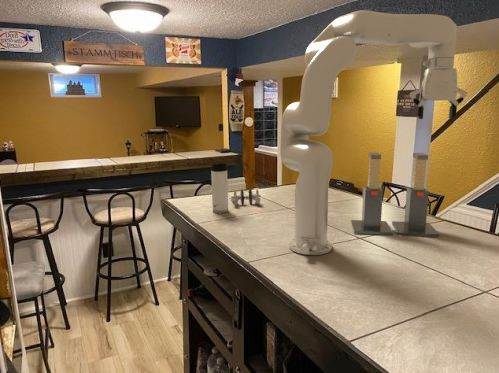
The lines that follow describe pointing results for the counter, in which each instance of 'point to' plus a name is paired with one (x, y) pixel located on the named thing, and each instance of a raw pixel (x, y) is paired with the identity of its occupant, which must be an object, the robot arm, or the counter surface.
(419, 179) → the column
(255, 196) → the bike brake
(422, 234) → the sleeve
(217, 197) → the travel mug
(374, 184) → the column
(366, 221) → the sleeve
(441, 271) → the counter surface
